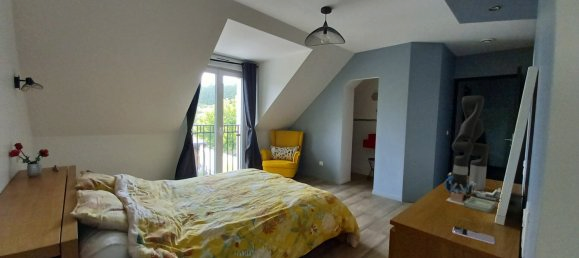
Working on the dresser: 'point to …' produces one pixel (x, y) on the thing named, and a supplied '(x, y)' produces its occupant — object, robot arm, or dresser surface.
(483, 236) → the mobile phone
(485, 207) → the tray
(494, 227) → the dresser surface
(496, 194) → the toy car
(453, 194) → the ring
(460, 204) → the stake board
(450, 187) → the alarm clock
